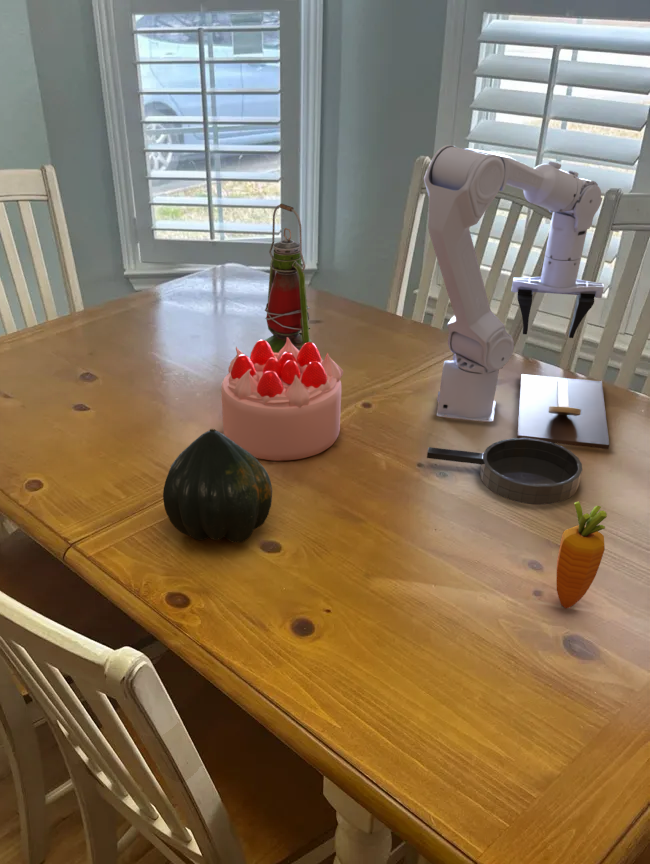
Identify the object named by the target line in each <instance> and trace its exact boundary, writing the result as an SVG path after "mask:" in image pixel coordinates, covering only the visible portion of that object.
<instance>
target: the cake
mask: <svg viewBox="0 0 650 864" xmlns="http://www.w3.org/2000/svg"><path fill="white" fill-rule="evenodd" d="M312 342H313V341H312ZM312 342H307V343H305V344H304V345H303V346H302V347H301V349H300V351H299V350H298V349H297V348H296V347H295V346H294V345H293V344H292V343H291V341H290V339H289V338H288V337H287V341H286V344H285V345H284V347H283V348H282V349H281V350H280V351H279V353H273V350H272V348H271V346H270V345H269V343H268V342H267V341H265V339H260V340H257V342H255V344H254V345H253V347H252V349H251V352H250V355H249V356H248V355H246V354H245V353H244V352H242V351H241V350H240V349H239V348H238V347H237V346H235V351H236V355H235V356H234V358H233V359H231V361H230V363H229V366H228V367H227V368H228V371H227V372H228V373H227V374H226V375H225V377H224V378H223V380H222V382H221V389H220V393H221V411H222V424H223V425H222V427H223V428H222V429H223V434H224V435H225V436H227V437H228V438H229V439H230V440H232V441H233V442H234V443H236V444H237V445H239V446H240V447H242V448H243V449H245V450H246V451H248V452H249V453H250V454H252V455H253V456H254V457H255V458H256V459H261V460H266V461H276V462H277V461H279V462H280V461H281V462H282V461H295V460H301V459H306V458H309V457H312V456H316V455H318V454H320V453H323V452H324V451H326V450H327V449H329V448H330V447H332V446H333V445H334V443H336V441H337V440H338V437H339V436H340V432H341V431H340V429H341V409H342V407H341V406H342V381H341V379H342V377H343V374H344V370H343V368H342V367H341V366H340V365H339V364H337V363H336V362H335V361H334V359H332V358H331V356H330V355H329V352H327V353H326V355H325V357H324V359H323V358H322V356H321V353H320V351H319V348H318V347H317V345H316V344H315V343H314V342H313V343H312Z"/></svg>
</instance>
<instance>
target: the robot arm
mask: <svg viewBox="0 0 650 864" xmlns="http://www.w3.org/2000/svg"><path fill="white" fill-rule="evenodd" d="M561 168H562V164H561V163H558V162H556V161H548V163H541V164H538V165H536V166H535V167H533V166H529V165H528V164H526V163H524V162H521V161H519V160H517V159H515V158H513V157H511V156H510V155H506V154H501V153H497V152H492V151H486V150H480V149H476V148H475V149H474V148H469V147H468V148H467V147H462V148H460V147H458V146H456V145H454V144H445V145H444V146H441V147H440V148H439V149H437V151H436V152H435V153H434V154H433V156H432V157H431V160H430V162H429V164H428V167H427V169H426V171H425V174H424V176H423V182H424V185H425V189H426V192H427V195H428V217H427V218H428V219H427V220H428V222H427V230H428V235H429V237H430V240H431V244H432V247H433V250H434V253H435V257H436V260H437V263H438V266H439V270H440V273H441V276H442V279H443V282H444V286H445V289H446V292H447V296H448V300H449V302H450V306H451V308H452V312H453V316H452V317H451V318H450V320H449V321H448V322H447V324H446V326H447V330H448V339H447V346H448V349H449V351H450V352H451V353H453V355H452V359H451V360H444V361H443V365H442V370H441V377H440V385H439V386H440V387H439V391H438V392H437V399H436V402H438V403H437V411H436V416H437V417H439V418H449V419H458V420H466V421H475V422H477V421H478V422H486V423H493V422H494V421H495V410H496V404H497V403H496V401H495V396H496V390H497V384H498V378H499V372H500V370H502V369H503V368H504V366H506V365H507V364H508V363H509V362H510V360H511V358H512V356H513V354H514V349H515V341H514V338H513V336H512V335H511V334H510V333H508V332H507V329H506V325H505V324H504V323H503V322H502V320H501V319H500V318H499V317H498V316H497V315H495V313H494V312H493V311H492V310H491V307H490V302H489V298H488V295H487V291H486V287H485V283H484V279H483V276H482V272H481V268H480V264H479V261H478V257H477V253H476V250H475V245H474V242H473V239H472V235H471V231H470V228H471V227H473V226H475V225H477V224H478V223H479V222H480V221H481V218H482V217H483V216H484V214H485V213H486V212H487V210H488V208H489V207H490V206H491V204H492V202H493V201H494V199H495V198H496V197H497V195H498V194H499V192H503V191H505V189H506V186H509V187H512V188H515V189H519V190H522V191H523V196H524V199H525V200H526V201H527V202H528V203H530V204H532V205H535V206H538V207H541V208H544V209H546V210H547V211H548V212H549V213H552V215H551V220H550V226H549V231H548V236H547V242H546V247H545V253H544V259H543V263H542V264H543V265H542V269H541V275H540V276H529V277H528V276H527V277H525V276H524V277H517V276H516V277H513V278H512V285H511V291H510V292H511V293H517V296H516V298H517V304H518V306H519V309H520V313H521V318H522V335H528V331H529V320H530V314H531V308H532V305H533V304H532V303H533V295H534V293H541V294H553V295H554V294H556V295H557V294H558V295H571V296H576V300H575V305H574V310H573V315H572V319H571V322H570V325H569V329H568V338H569V339H574V336H575V334H576V332H577V330H578V328H579V326H580V324H581V322H582V321H583V319H584V318H585V316H586V314H587V313H589V311H590V310H591V309H592V307H593V306H594V305H595V299H596V298H597V299H602V297H603V293H604V289H605V285H604V284H605V283H604V282H597V281H590V280H584V279H580V278H579V279H578V275H579V274H578V273H579V272H580V271H579V270H580V267H581V260H582V257H583V251H584V247H585V242H586V237H587V232H588V230H589V229H591V226H592V225H593V222H594V218H595V216H596V213H597V212H598V210H599V209H600V208H601V205H602V202H603V197H602V189H601V187H600V186H599V184H598V183H597V182H596V181H594V180H590V179H585V178H581V177H579V172H577V171H574V170H569V171H566V170H563V169H561Z"/></svg>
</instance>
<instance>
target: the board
mask: <svg viewBox="0 0 650 864" xmlns="http://www.w3.org/2000/svg"><path fill="white" fill-rule="evenodd" d="M558 379H563V380H567V383H568V402H569V407H571V408H577V409H581V413H580V415H578V416H572V415H560V414H553V413H549V412H548V411H549V407H550V406H558V405H557V382H558ZM518 398H519V401H518V416H517V418H518V419H517V434H516V438H531V439H539V440H544V441H548V442H552V443H555V444H557V445H567V446H575V447H584V448H585V447H586V448H595V449H602V450H603V449H604V450H609V448H610V437H609V430H608V422H607V413H606V405H605V397H604V388H603V381H602V380H601V381H600V380H590V379H579V378H569V377H568V378H567V377H557V376H548V375H547V376H546V375H537V374H536V375H534V374H524V373H522V374H520V380H519V397H518Z"/></svg>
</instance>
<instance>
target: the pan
mask: <svg viewBox="0 0 650 864" xmlns="http://www.w3.org/2000/svg"><path fill="white" fill-rule="evenodd" d="M482 453H483V459H482V464H480V471H479V477H480V479H481V482H482V484H484V486H485V487H486V488H487V489H488V490H489V491H491V492H493V493H494V494H496V495H498V496H500V497H502V498H504V499H507V500H510V501H513V502H516V503H522V504H523V503H524V504H529V505H551V504H556V503H561V502H564V501H565V500H568V499H570V498H571V497H572V496H574V495H575V494H576V493H577V490H578V489H579V485H580V481H581V478H582V473H583V463H582V462H581V460H580V458H579V456H577V455H576V454H575V453H574V452H572V451H571V450H569V449H568V448H566V447H565V446H562V445H561V444H557V443H552V442H548V441H544V440H539V439H531V438H517V437H513V438H505V439H502V440H499V441H496V442H494V443H492V444H490V445H488V446H487V447H486V448H485V450H484V451H483V452H482Z"/></svg>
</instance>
